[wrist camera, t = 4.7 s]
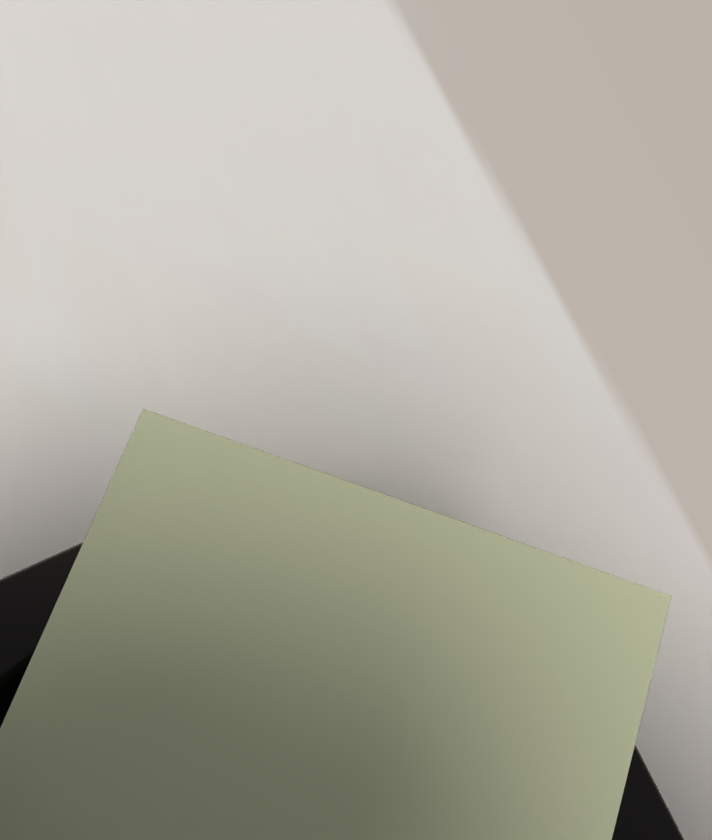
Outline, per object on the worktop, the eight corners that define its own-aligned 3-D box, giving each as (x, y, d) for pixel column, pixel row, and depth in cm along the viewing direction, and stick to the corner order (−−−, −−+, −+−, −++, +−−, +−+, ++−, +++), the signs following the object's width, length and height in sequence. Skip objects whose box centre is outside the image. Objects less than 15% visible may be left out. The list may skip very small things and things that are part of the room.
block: (415, 795, 14) (498, 1297, 4) (220, 715, 14) (-119, 993, 5) (479, 588, 15) (670, 595, 5) (294, 521, 15) (143, 407, 6)
